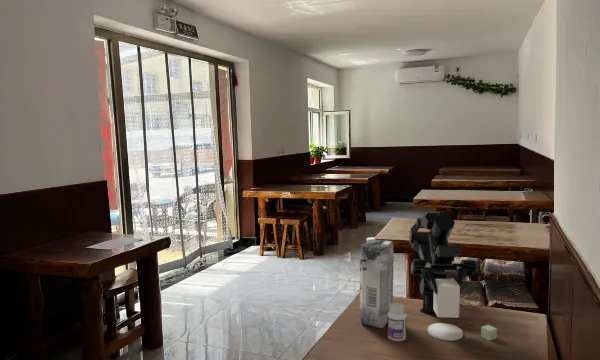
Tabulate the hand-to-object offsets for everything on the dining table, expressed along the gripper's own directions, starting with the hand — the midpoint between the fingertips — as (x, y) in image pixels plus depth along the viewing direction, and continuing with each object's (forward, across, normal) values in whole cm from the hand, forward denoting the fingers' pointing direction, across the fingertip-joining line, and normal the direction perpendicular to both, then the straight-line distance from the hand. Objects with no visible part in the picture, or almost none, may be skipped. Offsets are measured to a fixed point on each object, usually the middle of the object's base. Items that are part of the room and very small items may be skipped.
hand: (447, 293), depth 133 cm
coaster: (+8, 0, +10) cm, 13 cm away
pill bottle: (+11, -15, +8) cm, 20 cm away
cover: (+4, 0, +6) cm, 7 cm away
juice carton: (+3, -20, +15) cm, 25 cm away
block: (+10, +12, +8) cm, 18 cm away
